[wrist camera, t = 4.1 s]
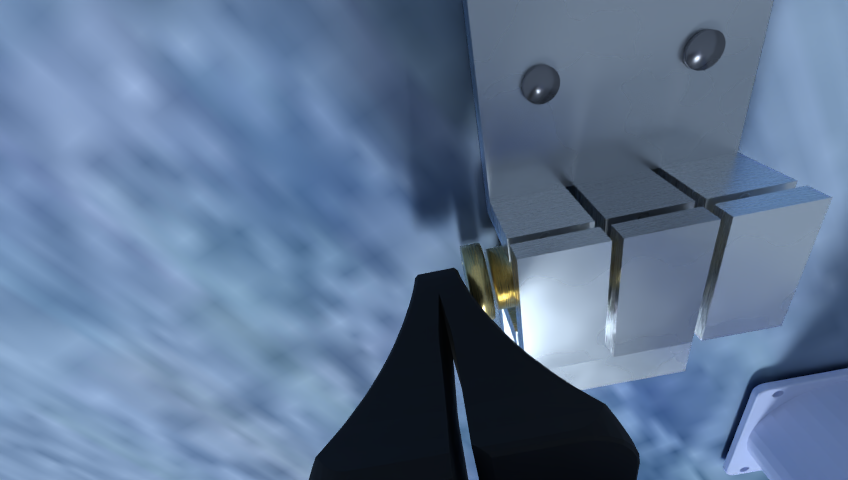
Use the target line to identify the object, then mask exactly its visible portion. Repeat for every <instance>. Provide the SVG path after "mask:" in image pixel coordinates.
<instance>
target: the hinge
mask: <svg viewBox="0 0 848 480" xmlns="http://www.w3.org/2000/svg"><path fill="white" fill-rule="evenodd" d="M773 1H774V0H462V3H463V11H464V19H465V28H466V36H467V45H468V53H469V62H470V70H471V78H472V87H473V95H474V104H475V112H476V120H477V129H478V137H479V146H480V154H481V162H482V171H483V179H484V188H485V196H486V205H487V212H488V215H489V217H490V219H491V221H492V224H493V226H494V228H495V231H496V233H497V235H498V237H499V240H500V242H501V244H502V247H503V249H504V251H505V253H506V256H507V258H508V260H509V262H512V274H513V285H514V296H515V307H512V308H507V309H502V310H499V314H500V322H501V330H502V331H503V332H504V333H506V334H507V335H508V336H509V337H510V338H511V339H512V340H513V341H514V342H515V343H516V344H517V345H518V346H520V347H521V348H522V349H523V350H524V351H526V352H527V353H528V354H529V355H530V356H532V357H533V358H534V359H536V360H537V361H538V362H540V363H541V364H542V365H544V366H545V367H547V368H548V369H549V370H551V371H552V372H553V373H555V374H556V375H558V376H559V377H561V378H562V379H564V380H565V381H567V382H568V383H570V384H571V385H573V386H575V387H576V388H578V389H580V390H584V389H589V388H595V387H600V386H606V385H611V384H617V383H622V382H627V381H633V380H638V379H644V378H649V377H655V376H660V375H665V374H671V373H676V372H682V371H685V369H686V365H687V361H688V357H689V352H690V348H691V344H692V340H693V336H694V333H695V334H696V335H697V336H698V337H699V338H700V339H701V341H703V340H708V339H714V338H719V337H724V336H730V335H735V334H740V333H746V332H751V331H756V330H762V329H767V328H772V327H778V326H782V323H783V321H784V318H785V316H786V313H787V311H788V308H789V305H790V303H791V300H792V298H793V295H794V293H795V290H796V288H797V285H798V283H799V280H800V278H801V275H802V273H803V270H804V268H805V265H806V263H807V260H808V258H809V255H810V252H811V250H812V247H813V245H814V242H815V240H816V237H817V235H818V232H819V230H820V227H821V225H822V222H823V220H824V217H825V215H826V212H827V210H828V207H829V205H830V202H831V199H832V197H830V196H828V195H826V194H824V193H822V192H820V191H818V190H816V189H814V188H811V187H809V186H803V187H798V188H795V187H796V184H797V180H795V179H793V178H791V177H788V176H786V175H784V174H782V173H780V172H778V171H776V170H774V169H772V168H770V167H768V166H765V165H763V164H761V163H759V162H757V161H755V160H753V159H751V158H749V157H747V156H745V155H743V154H740V153H738V147H739V143H740V139H741V135H742V131H743V127H744V122H745V118H746V114H747V110H748V106H749V101H750V97H751V93H752V89H753V85H754V81H755V76H756V72H757V68H758V64H759V60H760V55H761V51H762V47H763V43H764V39H765V35H766V30H767V26H768V22H769V18H770V14H771V9H772V5H773Z"/></svg>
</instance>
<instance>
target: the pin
mask: <svg viewBox="0 0 848 480" xmlns="http://www.w3.org/2000/svg"><path fill="white" fill-rule="evenodd" d="M460 253H461V259H462V265H463V271H464V276H465V281H466V286H467V288H468V290H469V291H470V293H471V294H472V296H473V297H474V298H475V300H476V301H477V302H478V303H479V305H480V306H481V307H482V308H483V310H484V311H485V312H486V313H487V314H488V316H489V317H490V318H491V319H492V320H493V319H495V306H494V301H495V304H496V306H497V309H498V310H502V309H507V308H512V307H515V296H514V285H513V274H512V262H509V260H508V258H507V256H506V253H505V251H504V249H503V247H502V246H499V247H494V248H489V249H485V258H484V254H483V251H482V248H481V246H480V244H479V243H475V244H470V245H465V246H460ZM485 259H486V261H485ZM493 298H494V299H493Z"/></svg>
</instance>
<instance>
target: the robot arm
mask: <svg viewBox="0 0 848 480" xmlns="http://www.w3.org/2000/svg"><path fill="white" fill-rule="evenodd" d="M453 359H454V363H455V366H456V370H457V373H458V377H459V380H460V384H461V387H462V392H463V397H464V403H465V409H466V415H467V421H468V427H469V433H470V439H471V445H472V450H473V454H474V459H475V463H476V468H477V472H478V477H479V480H637V475H638V469H639V464H640V459H639V453H638V451H637V449H636V447H635V445H634V443H633V441H632V439H631V438H630V436H629V435H628V433H627V432H626V430H625V429H624V428H623V426H622V425H621V423H620V422H619V421H618V419H617V418H616V417H615V415H614V414H613V413H612V412H611V410H610V409H609V408H608V407H607V406H606V404H604V403H602V402H601V401H599V400H597V399H595V398H593V397H592V396H590V395H588V394H586V393H585V392H583V391H581V390H580V389H578V388H576V387H575V386H573V385H571V384H570V383H568V382H567V381H565V380H564V379H562V378H561V377H559V376H558V375H556V374H555V373H553V372H552V371H551V370H549V369H548V368H547V367H545V366H544V365H542V364H541V363H540V362H538V361H537V360H536V359H534V358H533V357H532V356H530V355H529V354H528V353H527V352H526V351H524V350H523V349H522V348H521V347H520V346H518V345H517V344H516V343H515V342H514V341H513V340H512V339H511V338H510V337H509V336H508V335H507V334H506V333H504V332H503V331H502V330H501V328H500V327H499V326H498V325H497V324H496V323H495V322H494V321H493V320H492V319H491V318H490V317H489V316H488V314H487V313H486V312H485V311H484V310H483V308H482V307H481V306H480V305H479V303H478V302H477V301H476V300H475V298H474V297H473V296H472V294H471V293H470V291H469V290H468V288H467V287H466V286H465V284H464V282H463V281H462V279H461V277H460V275H459V273H458V270H456V269H455V268H450V269H445V270H440V271H435V272H430V273H425V274H420V275H417V277H416V278H415V284H414V289H413V293H412V297H411V301H410V304H409V307H408V310H407V313H406V316H405V319H404V322H403V325H402V327H401V330H400V332H399V334H398V337H397V339H396V342H395V344H394V346H393V348H392V350H391V352H390V354H389V356H388V358H387V360H386V362H385V364H384V366H383V368H382V369H381V371H380V373H379V375H378V376H377V378H376V380H375V381H374V383H373V385H372V386H371V388H370V389H369V391H368V392H367V394H366V395H365V397H364V398H363V400H362V401H361V402H360V404H359V405H358V406H357V408H356V409H355V411H354V412H353V413H352V415H351V416H350V417H349V419H348V420H347V421H346V423H345V424H344V425H343V426H342V428H341V429H340V430H339V431H338V432H337V433H336V435H335V436H334V437H333V438H332V439H331V440H330V442H329V443H328V444H327V445H326V446H325V447H324V448H323V450H322V451H321V452H320V453H319V454H318V455H317V456H316V458H315V461H314V464H313V467H312V471H311V474H310V478H309V480H468V475H467V469H466V463H465V457H464V452H463V446H462V440H461V434H460V428H459V421H458V413H457V401H456V388H455V375H454V363H453ZM723 469H724V470H725V472H726V473H727V474H728V475H736V474H742V473H748V472H754V471H759V470H763V472H764V473H765V474H766V476H767V477H768V478H769V480H848V368H845V369H839V370H834V371H828V372H823V373H817V374H812V375H806V376H801V377H795V378H790V379H784V380H779V381H773V382H768V383H763V384H760V385H758V386H756V387H755V388H754V389H753V390H752V393H751V395H750V398H749V400H748V403H747V405H746V408H745V411H744V413H743V416H742V418H741V421H740V423H739V426H738V429H737V431H736V434H735V436H734V439H733V441H732V444H731V447H730V449H729V452H728V454H727V457H726V459H725V462H724V465H723Z"/></svg>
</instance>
